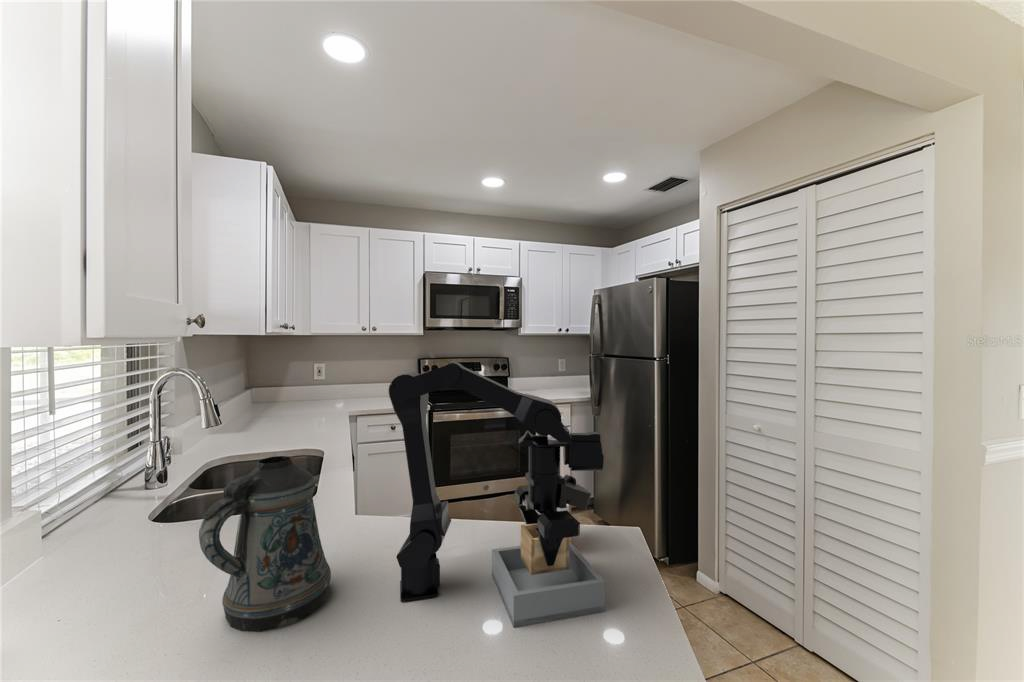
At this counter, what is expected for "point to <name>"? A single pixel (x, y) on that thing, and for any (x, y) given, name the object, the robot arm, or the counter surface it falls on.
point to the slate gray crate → (546, 588)
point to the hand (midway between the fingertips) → (544, 556)
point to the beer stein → (269, 547)
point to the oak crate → (541, 552)
